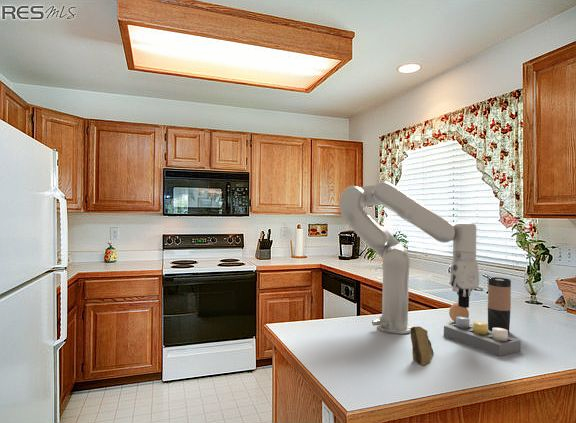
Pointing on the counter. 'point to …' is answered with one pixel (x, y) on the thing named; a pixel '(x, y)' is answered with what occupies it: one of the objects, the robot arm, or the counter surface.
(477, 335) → the button console
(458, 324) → the slate button
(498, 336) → the ivory button
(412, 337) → the rock
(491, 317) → the travel mug
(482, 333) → the mustard button
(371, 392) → the counter surface
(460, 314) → the egg
